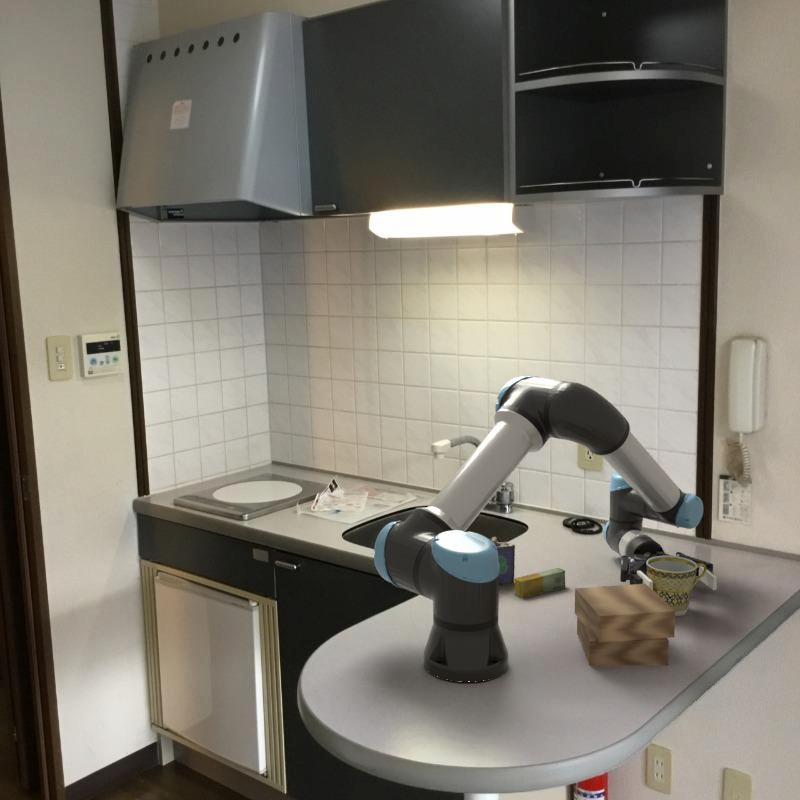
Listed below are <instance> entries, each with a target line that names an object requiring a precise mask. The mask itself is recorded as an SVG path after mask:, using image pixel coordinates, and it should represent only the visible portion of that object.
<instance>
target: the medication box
mask: <svg viewBox="0 0 800 800" xmlns="http://www.w3.org/2000/svg"><path fill="white" fill-rule="evenodd" d="M565 575H566V570H564V569H563V568H562V569H561V568H559V567H556V568H552V569H547V570H544V571H540V572H536V573H531V574H527V575H523V576H519V577H514V596H517V597H518V598H521V599H524V598H528V597H532V596H536V595H540V594H544V593H549V592H552V591H553V592H554V591H558V590H562V589H565V588H566V576H565Z"/></svg>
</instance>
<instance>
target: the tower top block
mask: <svg viewBox="0 0 800 800" xmlns="http://www.w3.org/2000/svg"><path fill="white" fill-rule="evenodd" d="M574 614H575V615H576V618H577V617H578V618H579V619H580V620H581V622H582V623H583V624H584V625H585V626H586V628H587V629H588V630H589V631H590V633H591V634H592V635H593V636H594V637H595V639H596V640H597V641H598V642H599V643H605V642H619V641H632V640H646V639H660V638H667V639H673V638H675V637H676V636H675V633H676V631H675V630H676V616H675V610H674V609H673V608H672V607H671V606H669V605H668V604H667V603H666V602H665V601H664V600H663V599H662V598H661V597H660V596H658V595H657V594H656V593H655V592H654V591H653V590H652V589H651V588H650V587H649V586H647V585H646V584H633V585H630V584H620V585H619V584H617V585H607V586H606V585H605V586H592V587H591V586H590V587H587V586H586V587H575V588H574Z"/></svg>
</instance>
